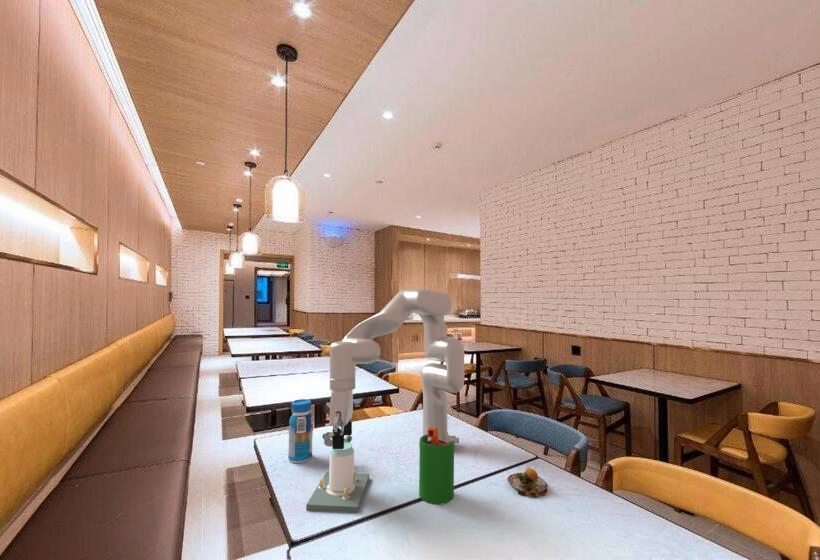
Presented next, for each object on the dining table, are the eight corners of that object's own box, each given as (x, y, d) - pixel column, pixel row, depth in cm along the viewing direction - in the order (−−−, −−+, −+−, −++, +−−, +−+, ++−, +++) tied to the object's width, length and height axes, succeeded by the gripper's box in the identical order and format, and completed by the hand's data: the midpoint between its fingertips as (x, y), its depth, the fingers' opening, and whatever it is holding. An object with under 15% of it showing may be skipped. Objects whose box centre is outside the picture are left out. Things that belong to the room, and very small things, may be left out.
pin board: (369, 478, 113) (369, 465, 114) (357, 512, 95) (357, 497, 96) (326, 476, 114) (326, 464, 114) (306, 510, 96) (306, 495, 97)
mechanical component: (349, 467, 121) (349, 437, 121) (321, 464, 123) (321, 434, 123) (352, 463, 124) (352, 434, 124) (324, 460, 126) (325, 431, 126)
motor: (456, 491, 107) (456, 422, 108) (449, 507, 98) (449, 433, 99) (423, 484, 110) (424, 418, 111) (414, 500, 101) (415, 428, 102)
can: (341, 496, 100) (342, 452, 101) (323, 488, 104) (324, 446, 105) (358, 485, 106) (359, 444, 107) (340, 478, 110) (341, 438, 111)
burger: (519, 474, 118) (519, 451, 118) (554, 488, 109) (554, 463, 110) (499, 487, 109) (499, 462, 110) (536, 503, 101) (536, 476, 101)
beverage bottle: (282, 461, 125) (284, 403, 126) (298, 451, 133) (299, 397, 134) (302, 465, 122) (303, 406, 123) (317, 455, 129) (318, 399, 130)
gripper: (337, 376, 115) (337, 430, 115) (321, 391, 98) (321, 454, 98) (360, 376, 115) (361, 430, 114) (348, 391, 98) (348, 455, 97)
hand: (342, 441), depth 106 cm, fingers open, 9 cm apart
